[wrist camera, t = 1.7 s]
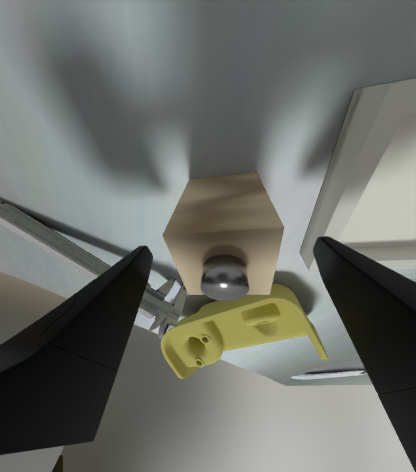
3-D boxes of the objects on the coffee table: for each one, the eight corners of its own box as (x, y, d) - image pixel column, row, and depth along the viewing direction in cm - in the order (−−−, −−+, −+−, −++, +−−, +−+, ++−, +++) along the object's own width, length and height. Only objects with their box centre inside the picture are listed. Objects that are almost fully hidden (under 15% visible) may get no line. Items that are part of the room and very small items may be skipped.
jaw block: (256, 171, 10) (294, 247, 5) (253, 227, 13) (274, 314, 7) (189, 180, 11) (153, 253, 5) (200, 230, 13) (184, 312, 8)
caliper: (189, 282, 19) (177, 340, 15) (184, 286, 20) (172, 342, 15) (-19, 188, 13) (-166, 236, 8) (-16, 198, 13) (-150, 248, 9)
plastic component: (290, 291, 14) (336, 372, 15) (278, 259, 21) (310, 317, 22) (148, 334, 22) (185, 388, 23) (173, 300, 28) (201, 342, 29)
